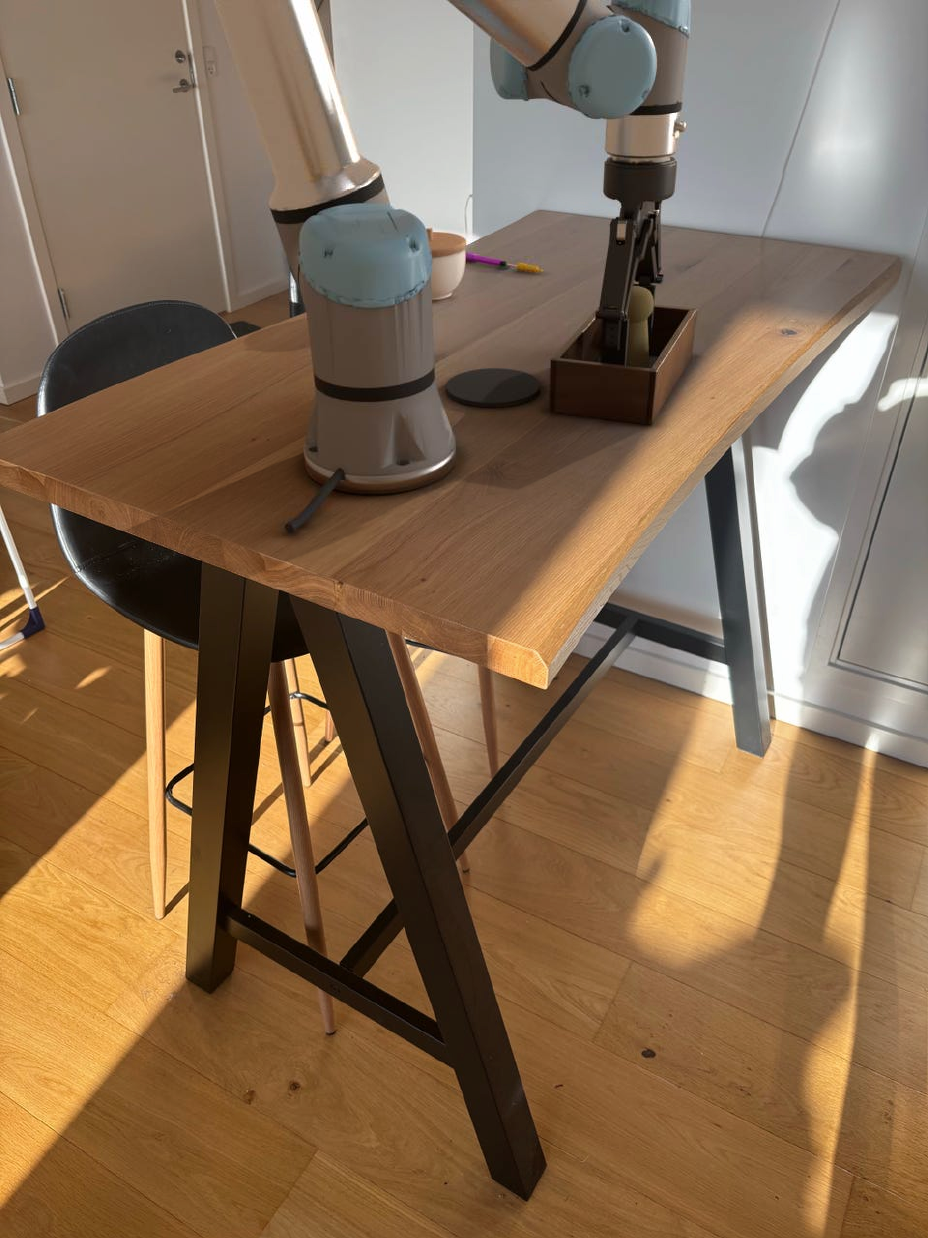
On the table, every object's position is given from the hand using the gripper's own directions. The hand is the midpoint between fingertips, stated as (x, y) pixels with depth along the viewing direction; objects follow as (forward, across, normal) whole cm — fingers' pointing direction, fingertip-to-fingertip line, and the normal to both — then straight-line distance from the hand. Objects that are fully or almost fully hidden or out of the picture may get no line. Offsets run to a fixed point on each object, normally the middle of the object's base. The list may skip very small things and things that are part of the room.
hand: (626, 357), depth 114 cm
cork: (+3, 0, 0) cm, 3 cm away
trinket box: (+3, +26, +36) cm, 45 cm away
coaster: (+3, -7, +14) cm, 16 cm away
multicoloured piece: (+3, +44, +31) cm, 54 cm away
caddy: (+3, 0, 0) cm, 3 cm away
